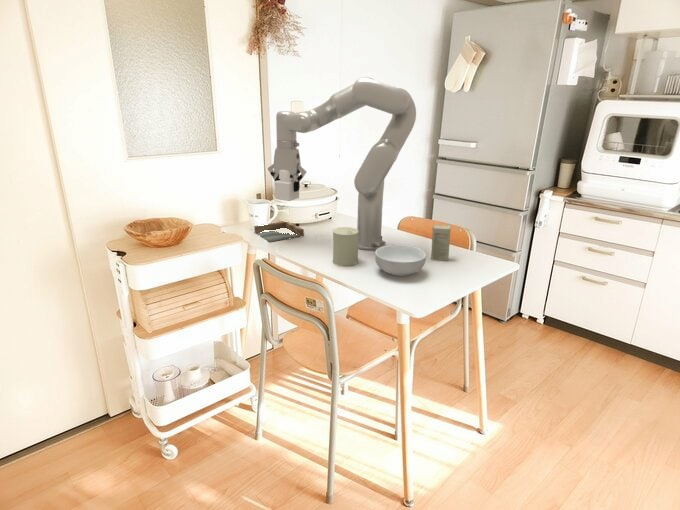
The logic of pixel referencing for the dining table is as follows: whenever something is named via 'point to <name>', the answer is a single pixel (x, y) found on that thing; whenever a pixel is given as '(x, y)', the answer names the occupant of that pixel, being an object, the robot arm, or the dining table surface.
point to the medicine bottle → (285, 187)
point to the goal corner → (277, 236)
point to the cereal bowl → (400, 259)
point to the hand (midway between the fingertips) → (287, 189)
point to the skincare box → (440, 242)
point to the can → (345, 246)
